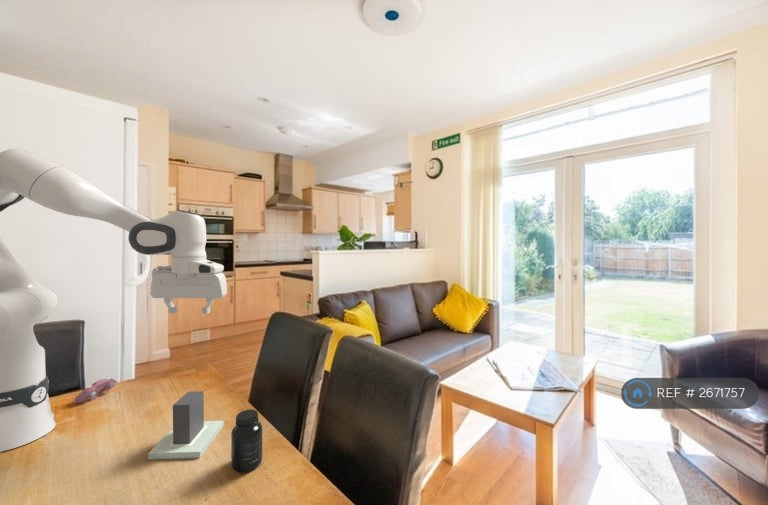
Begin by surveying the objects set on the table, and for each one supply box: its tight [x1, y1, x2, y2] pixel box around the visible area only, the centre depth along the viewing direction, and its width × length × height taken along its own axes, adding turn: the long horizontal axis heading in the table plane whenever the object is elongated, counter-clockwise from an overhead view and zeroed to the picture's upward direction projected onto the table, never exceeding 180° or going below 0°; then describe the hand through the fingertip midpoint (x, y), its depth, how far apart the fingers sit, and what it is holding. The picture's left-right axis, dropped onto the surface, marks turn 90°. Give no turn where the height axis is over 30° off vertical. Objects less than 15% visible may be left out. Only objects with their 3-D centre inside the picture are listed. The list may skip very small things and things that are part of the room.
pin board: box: [147, 420, 225, 460], centre depth 82 cm, size 12×13×4 cm
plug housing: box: [172, 390, 205, 444], centre depth 82 cm, size 4×7×10 cm, turn 4°
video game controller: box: [74, 376, 118, 404], centre depth 103 cm, size 10×5×7 cm, turn 171°
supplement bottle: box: [230, 408, 263, 474], centre depth 74 cm, size 7×7×12 cm
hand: (189, 313), depth 92 cm, fingers open, 8 cm apart
